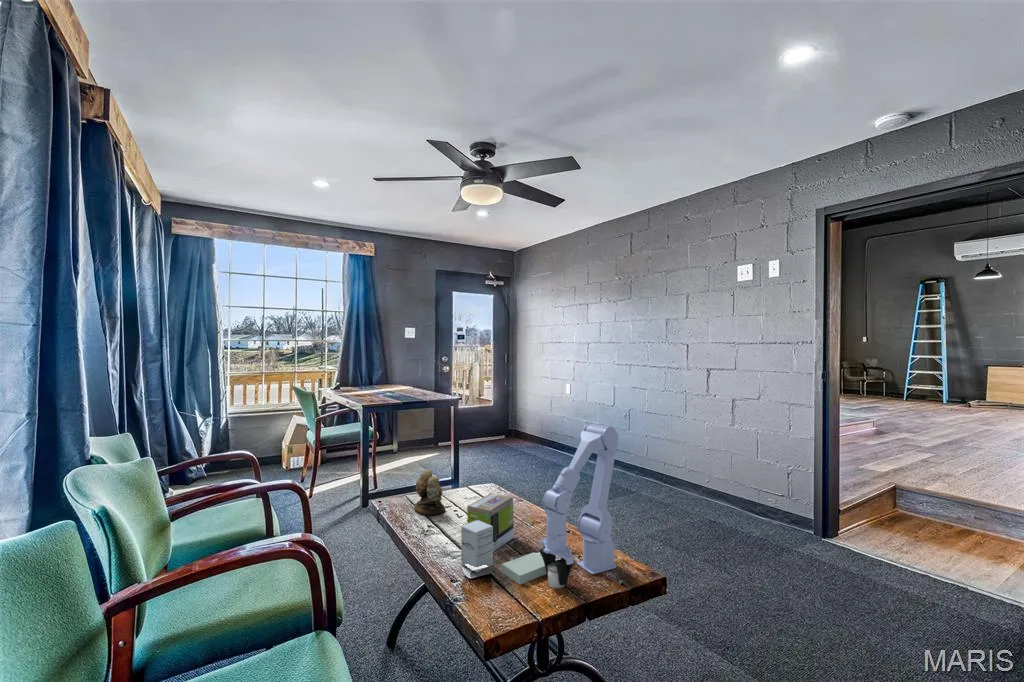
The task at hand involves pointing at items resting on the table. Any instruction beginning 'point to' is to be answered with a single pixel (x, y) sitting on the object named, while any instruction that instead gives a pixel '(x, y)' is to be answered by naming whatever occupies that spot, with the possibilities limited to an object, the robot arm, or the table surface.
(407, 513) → the table surface
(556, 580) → the cream cup
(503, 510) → the tea box
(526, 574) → the sage book
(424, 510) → the brown rock sculpture
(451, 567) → the table surface
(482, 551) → the supplement box
